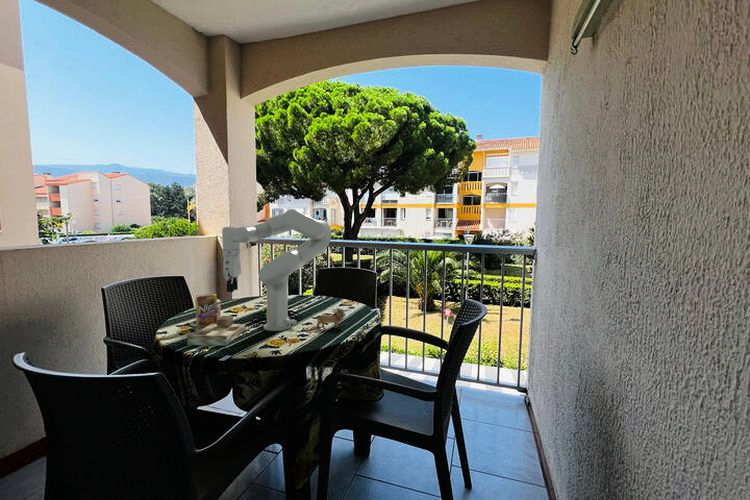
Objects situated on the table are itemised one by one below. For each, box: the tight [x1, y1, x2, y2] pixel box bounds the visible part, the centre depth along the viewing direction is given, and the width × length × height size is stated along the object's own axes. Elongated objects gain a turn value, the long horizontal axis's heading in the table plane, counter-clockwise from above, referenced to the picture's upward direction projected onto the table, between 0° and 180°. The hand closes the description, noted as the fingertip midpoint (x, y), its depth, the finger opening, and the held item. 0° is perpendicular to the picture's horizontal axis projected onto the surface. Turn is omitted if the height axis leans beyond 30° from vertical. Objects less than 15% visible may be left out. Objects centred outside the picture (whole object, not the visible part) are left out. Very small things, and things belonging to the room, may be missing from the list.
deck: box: [186, 323, 246, 346], centre depth 157 cm, size 16×21×4 cm
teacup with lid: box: [217, 298, 222, 319], centre depth 185 cm, size 12×9×12 cm
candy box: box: [195, 293, 218, 329], centre depth 171 cm, size 9×4×15 cm, turn 123°
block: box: [216, 315, 234, 328], centre depth 164 cm, size 5×6×4 cm
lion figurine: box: [314, 308, 345, 330], centre depth 171 cm, size 15×5×9 cm, turn 111°
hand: (232, 290), depth 172 cm, fingers open, 3 cm apart
